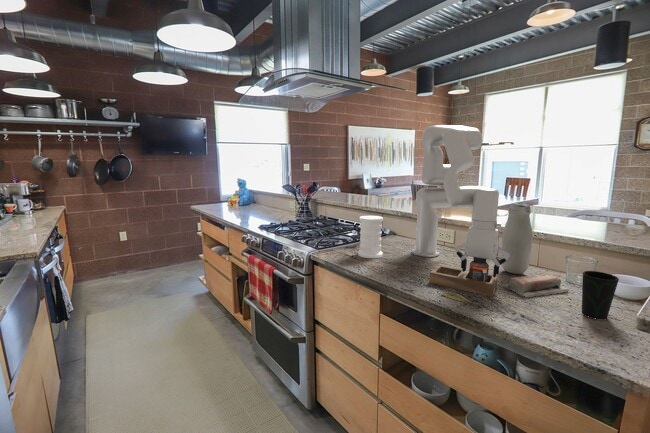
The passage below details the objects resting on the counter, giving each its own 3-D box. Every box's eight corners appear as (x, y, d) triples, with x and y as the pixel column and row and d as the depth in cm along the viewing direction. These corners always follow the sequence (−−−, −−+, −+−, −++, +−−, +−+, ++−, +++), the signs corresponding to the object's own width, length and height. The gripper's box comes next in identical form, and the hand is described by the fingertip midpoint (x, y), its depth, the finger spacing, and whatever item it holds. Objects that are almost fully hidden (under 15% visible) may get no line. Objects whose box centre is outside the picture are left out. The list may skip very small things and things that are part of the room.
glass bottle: (530, 272, 126) (538, 202, 121) (524, 279, 119) (533, 205, 114) (502, 266, 133) (509, 200, 128) (495, 272, 125) (502, 203, 121)
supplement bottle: (489, 291, 107) (492, 259, 105) (470, 290, 108) (472, 258, 106) (484, 285, 113) (486, 254, 111) (466, 283, 114) (468, 253, 112)
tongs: (480, 311, 95) (481, 304, 94) (440, 298, 104) (440, 292, 104) (486, 307, 97) (487, 300, 97) (446, 295, 107) (447, 289, 107)
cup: (570, 309, 94) (575, 271, 92) (594, 308, 95) (600, 270, 93) (594, 322, 87) (600, 280, 85) (619, 321, 87) (626, 280, 85)
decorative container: (387, 256, 147) (388, 218, 144) (365, 259, 142) (366, 220, 139) (374, 250, 157) (375, 214, 154) (353, 252, 153) (354, 216, 150)
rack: (437, 274, 123) (437, 264, 123) (496, 286, 112) (497, 275, 111) (429, 283, 115) (429, 272, 114) (492, 296, 103) (493, 285, 102)
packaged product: (528, 285, 101) (503, 274, 111) (526, 299, 102) (502, 288, 112) (570, 279, 106) (543, 270, 116) (568, 293, 107) (541, 282, 116)
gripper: (513, 226, 105) (508, 275, 108) (458, 220, 114) (455, 265, 117) (512, 229, 99) (506, 281, 102) (453, 223, 108) (450, 271, 111)
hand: (479, 273), depth 109 cm, fingers open, 9 cm apart
